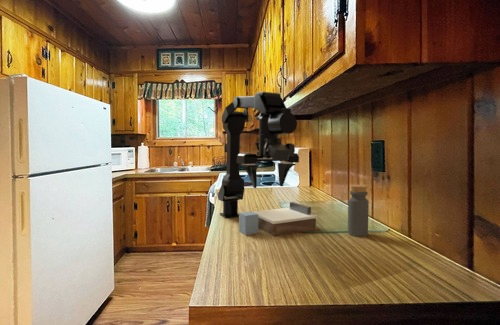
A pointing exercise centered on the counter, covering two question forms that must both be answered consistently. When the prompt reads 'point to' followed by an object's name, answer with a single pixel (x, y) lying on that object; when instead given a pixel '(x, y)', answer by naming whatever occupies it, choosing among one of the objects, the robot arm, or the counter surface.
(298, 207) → the lid
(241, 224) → the blue gray block
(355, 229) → the bottle
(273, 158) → the robot arm
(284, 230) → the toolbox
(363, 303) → the counter surface
